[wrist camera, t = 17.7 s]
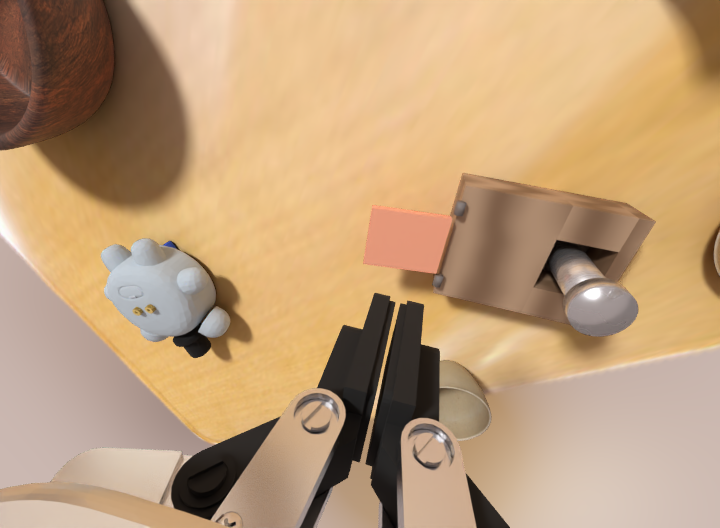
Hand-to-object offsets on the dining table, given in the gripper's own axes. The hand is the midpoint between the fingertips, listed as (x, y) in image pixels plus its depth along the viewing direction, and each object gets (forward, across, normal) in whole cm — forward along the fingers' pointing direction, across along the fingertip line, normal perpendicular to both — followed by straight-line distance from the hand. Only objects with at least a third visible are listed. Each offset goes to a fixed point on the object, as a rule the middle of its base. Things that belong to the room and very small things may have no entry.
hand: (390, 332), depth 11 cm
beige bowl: (+27, -10, +28) cm, 40 cm away
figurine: (+27, +32, +25) cm, 49 cm away
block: (+27, -12, +6) cm, 30 cm away
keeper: (+21, 0, +6) cm, 22 cm away
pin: (+27, -16, +6) cm, 32 cm away
